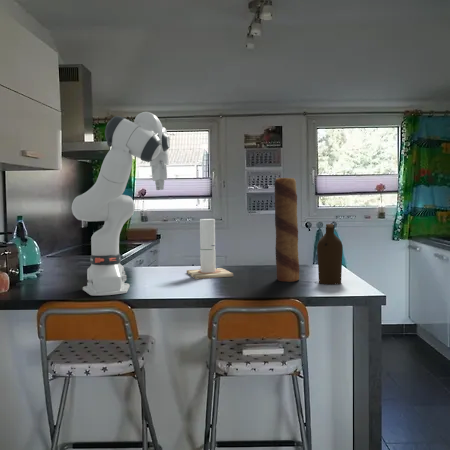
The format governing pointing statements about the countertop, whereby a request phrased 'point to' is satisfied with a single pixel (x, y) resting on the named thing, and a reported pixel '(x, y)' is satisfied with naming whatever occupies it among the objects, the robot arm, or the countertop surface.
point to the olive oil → (329, 257)
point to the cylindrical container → (207, 245)
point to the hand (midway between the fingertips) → (159, 189)
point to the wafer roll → (286, 230)
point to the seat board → (218, 273)
